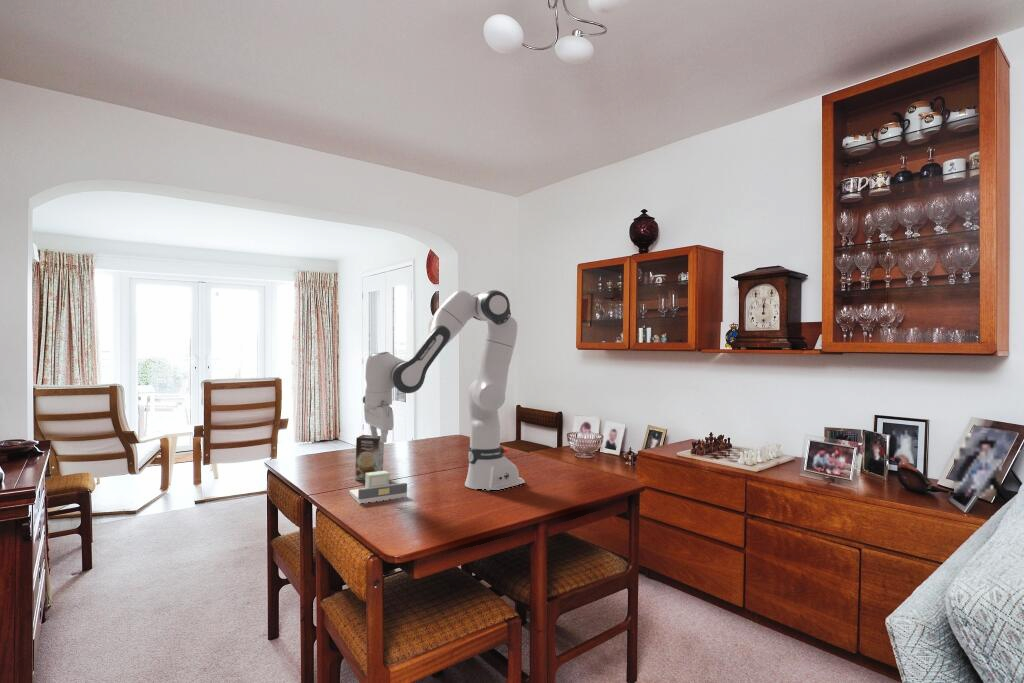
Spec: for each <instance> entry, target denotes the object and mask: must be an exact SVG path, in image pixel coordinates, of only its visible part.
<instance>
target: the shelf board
mask: <svg viewBox="0 0 1024 683" xmlns="http://www.w3.org/2000/svg"><path fill="white" fill-rule="evenodd" d="M348 492H349V493H348V494H350V495H351V496H352V497H353V498H354V499H355V500H356V501H357V502H358V503H359V504H358V503H357V502H356V501H355V500H354V499H353V498H352V497H351V496H350V495H349V496H350V497H351V498H352V499H353V500H354V501H355V502H356V503H357V504H358V505H361V504H360V503H364V504H369V503H368V502H371V503H377V502H383V500H384V501H390V500H389V499H391V500H397V499H403V498H402V497H404V498H407V497H408V496H407V495H408V483H407V482H401V483H394V484H393V483H392V484H389V485H386V486H379V487H372V488H365V487H362V488H356V489H349V490H348ZM396 498H397V499H396ZM376 501H377V502H376Z"/></svg>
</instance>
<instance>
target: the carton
mask: <svg viewBox="0 0 1024 683" xmlns="http://www.w3.org/2000/svg"><path fill="white" fill-rule="evenodd" d="M364 482H365V484H364V485H365V486H364V488H372V487H379V486H386V485H390V472H389V471H387V470H383V471H377V472H369V473H365V480H364Z"/></svg>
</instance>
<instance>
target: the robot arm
mask: <svg viewBox="0 0 1024 683" xmlns="http://www.w3.org/2000/svg"><path fill="white" fill-rule="evenodd" d="M511 315H512V313H511V304H510V300H509V297H508V296H507V295H506V294H505V292H503V291H499V290H497V289H493V290H484V291H482V292H479V293H476V294H473V295H472V294H471V293H470V292H468V291H466V290H462V289H461V290H460V289H459V290H456V291H455V292H453V293H452V294H451V295H450V296H449V297H448V298H446V300H445V301H444V302H443V303H442V304H441V305H440V306H439V307H438V308H437V310H436V311H435V312H434V314H433V315H432V317H431V319H430V321H429V323H428V334H427V337H426V338H425V340H424V341H423V343H422V344H421V346H420V347H419V348H418V349H417V351H416V352H415V353H414V354H413V356H412V357H411V358H410V359H409V360H407V361H406V360H404V359H401V358H399V357H397V356H395V355H394V354H391V353H390V352H389V351H382V352H377V353H376V352H375V353H372V354H371V355H369V356H368V357H367V359H366V364H365V376H364V377H365V382H366V388H365V392H364V393H365V394H364V395H363V397H362V403H363V404H364V405H363V412H364V421H365V423H366V424H368V425H369V429H370V435H371V437H372V438H377V437H378V436H379V435H378V431H377V429H378V430H380V436H381V437H380V442H381V443H384V444H386V443H387V440H388V439H387V438H388V434H389V431H393V428H394V411H393V408H392V407H391V405H393V389H394V388H396V389H397V390H398V391H399V392H401V393H403V394H412V393H415V392H417V391H419V390H420V389H421V388H422V386H423V384H424V382H425V378H426V374H427V371H428V370H429V367H430V366H431V365H432V364H433V362H434V361H435V359H436V358H437V357H438V356H439V355H440V353H441V351H442V350H443V349H444V347H446V346H447V345H448V344H449V343H450V342H451V341H452V340H453V339H454V338H455V337H456V336H457V335H458V334H459V333H460V332H461V331H462V329H463V328H464V327H465V326H466V325H467V323H468V322H469V321H470V320H471V319H472V318H473V319H475V320H477V321H482V322H486V324H487V334H486V338H485V341H484V344H483V348H482V352H481V356H480V360H479V368H478V369H479V370H478V375H477V379H475V380H473V382H471V384H470V386H469V388H468V391H467V392H468V412H469V426H470V429H469V431H470V432H469V433H470V435H469V446H468V469H467V470H468V471H467V476H466V479H465V483H464V486H465V487H467V488H468V489H472V490H477V489H482V490H481V491H490V490H500V489H504V488H508V487H511V486H515V485H519V484H522V483H525V484H526V482H525V479H523V478H522V477H520V475H519V469H518V467H517V465H516V464H514V463H513V462H512V461H511V460H510V459H508V458H507V456H505V455H504V454H509V453H510V449H509V448H508V447H502V446H501V424H500V423H501V422H500V419H499V409H500V408H501V407H502V406H503V405H504V403H505V400H506V390H507V384H508V375H509V369H510V365H511V360H512V356H513V353H514V348H515V346H516V341H517V336H518V321H517V320H516V319H515V318H513V316H511ZM484 489H486V490H484ZM508 489H509V488H508ZM504 490H505V489H504ZM500 491H501V490H500Z"/></svg>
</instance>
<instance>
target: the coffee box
mask: <svg viewBox="0 0 1024 683" xmlns="http://www.w3.org/2000/svg"><path fill="white" fill-rule="evenodd" d="M380 437H381V435H378V437H377V438H372V437H371V434H362V435H359V436H357V437H356V441H355V444H356V445H355V469H354V470H355V473H354V480H355V481H365V473H369V472H377V471H384V452H385V450H384V449H385V448H384V447H385V443H381V442H380Z"/></svg>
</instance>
